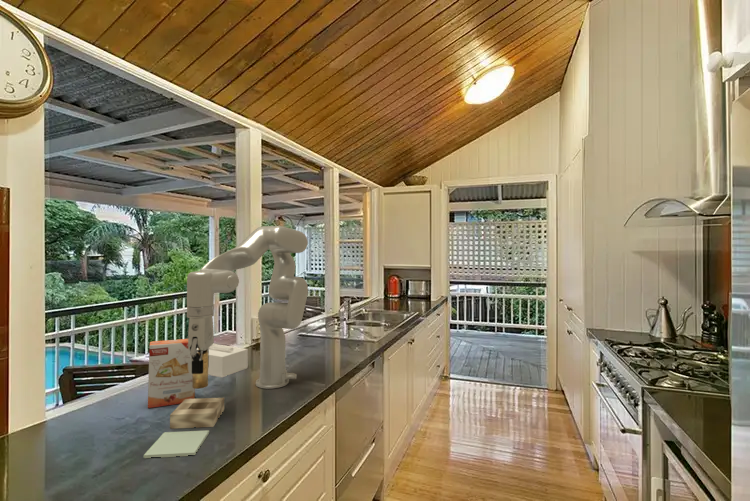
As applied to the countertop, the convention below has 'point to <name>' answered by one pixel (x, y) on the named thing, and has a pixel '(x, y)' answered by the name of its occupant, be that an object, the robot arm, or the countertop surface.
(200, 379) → the brass plug
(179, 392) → the cracker box
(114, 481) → the countertop surface
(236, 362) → the tissue box
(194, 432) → the green mat
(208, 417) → the bored block
